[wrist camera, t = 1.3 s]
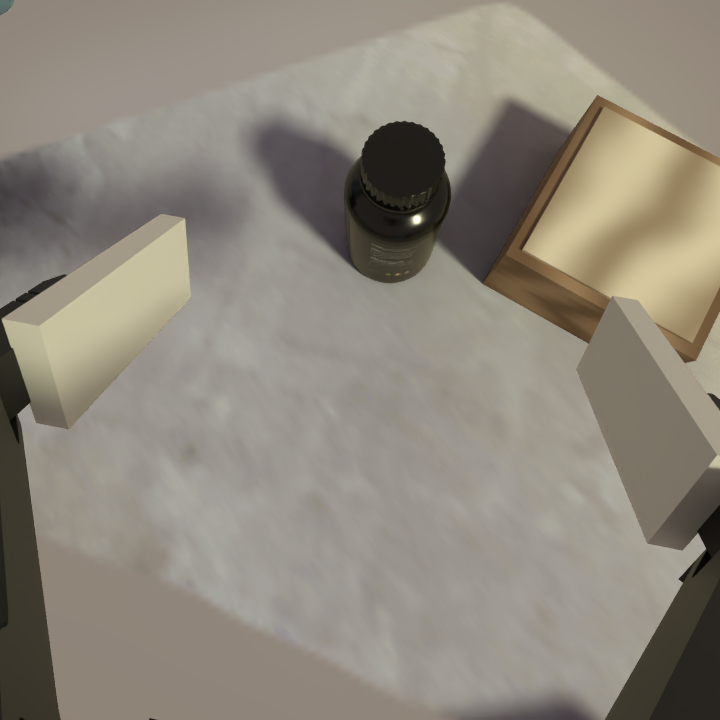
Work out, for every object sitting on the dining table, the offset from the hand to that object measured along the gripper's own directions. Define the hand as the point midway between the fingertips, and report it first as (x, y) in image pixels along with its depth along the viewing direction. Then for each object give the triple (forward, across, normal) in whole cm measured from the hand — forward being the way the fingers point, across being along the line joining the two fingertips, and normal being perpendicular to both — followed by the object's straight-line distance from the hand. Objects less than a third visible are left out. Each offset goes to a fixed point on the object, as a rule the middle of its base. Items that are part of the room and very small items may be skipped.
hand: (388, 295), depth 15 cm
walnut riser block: (+26, +16, -6) cm, 31 cm away
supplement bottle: (+24, -1, -8) cm, 25 cm away
